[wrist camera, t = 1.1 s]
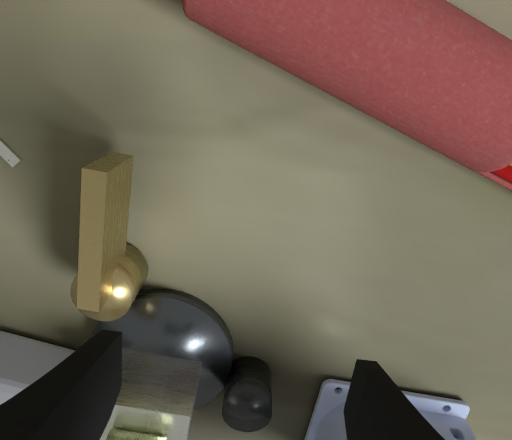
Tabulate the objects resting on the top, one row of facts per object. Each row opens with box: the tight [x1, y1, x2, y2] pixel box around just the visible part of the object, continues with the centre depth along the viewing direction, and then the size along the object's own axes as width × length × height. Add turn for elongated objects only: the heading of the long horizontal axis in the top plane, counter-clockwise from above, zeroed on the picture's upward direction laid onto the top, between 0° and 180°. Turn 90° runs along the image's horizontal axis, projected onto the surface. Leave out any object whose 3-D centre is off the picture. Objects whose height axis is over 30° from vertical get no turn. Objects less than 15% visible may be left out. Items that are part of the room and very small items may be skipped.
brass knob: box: [71, 152, 148, 321], centre depth 19 cm, size 8×3×5 cm, turn 169°
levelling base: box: [0, 140, 272, 440], centre depth 21 cm, size 17×18×6 cm
